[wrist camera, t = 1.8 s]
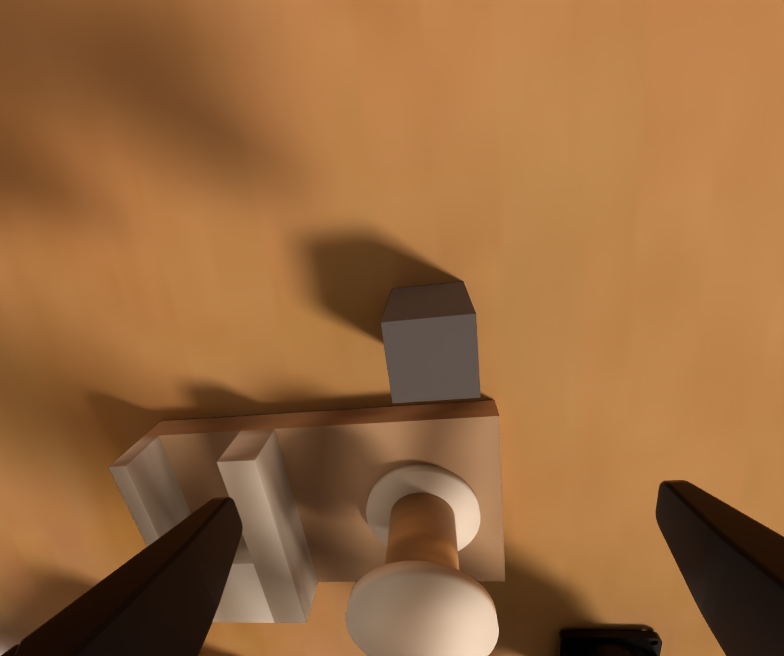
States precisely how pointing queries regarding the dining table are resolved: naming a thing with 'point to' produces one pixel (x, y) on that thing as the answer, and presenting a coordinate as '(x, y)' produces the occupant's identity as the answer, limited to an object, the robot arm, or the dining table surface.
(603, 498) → the dining table surface
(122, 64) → the dining table surface
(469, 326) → the dark grey block
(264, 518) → the board with round knob
